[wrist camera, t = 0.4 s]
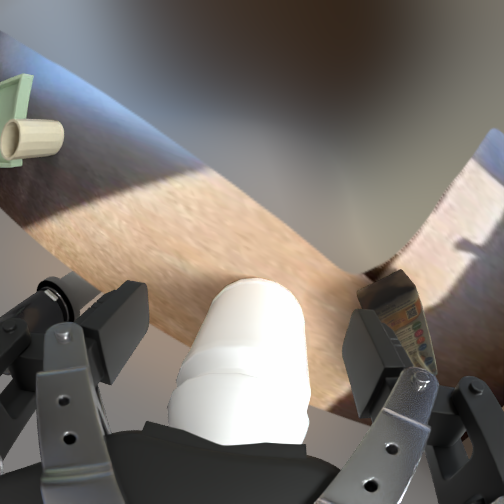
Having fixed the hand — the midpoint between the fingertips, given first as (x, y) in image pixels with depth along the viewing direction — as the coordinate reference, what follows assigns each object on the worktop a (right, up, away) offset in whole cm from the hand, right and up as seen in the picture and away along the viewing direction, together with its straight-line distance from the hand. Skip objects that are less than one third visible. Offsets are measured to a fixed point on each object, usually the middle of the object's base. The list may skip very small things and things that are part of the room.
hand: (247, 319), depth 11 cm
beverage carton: (+23, -9, +30) cm, 39 cm away
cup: (-33, +22, +26) cm, 47 cm away
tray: (-48, +28, +25) cm, 61 cm away
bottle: (+1, -7, +32) cm, 32 cm away
